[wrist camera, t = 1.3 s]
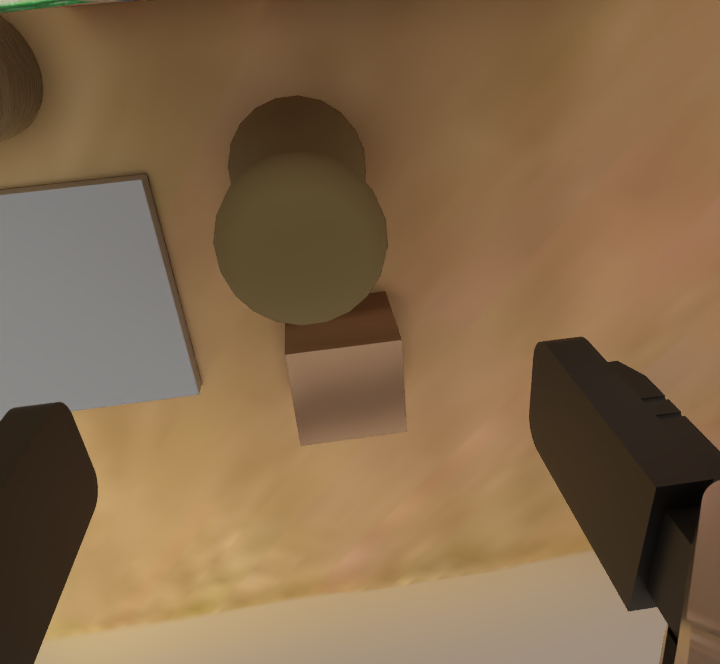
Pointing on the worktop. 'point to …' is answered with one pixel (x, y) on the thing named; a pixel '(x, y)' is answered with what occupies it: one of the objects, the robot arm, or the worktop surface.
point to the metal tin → (17, 82)
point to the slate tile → (89, 298)
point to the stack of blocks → (45, 4)
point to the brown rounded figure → (299, 214)
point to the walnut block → (347, 374)
